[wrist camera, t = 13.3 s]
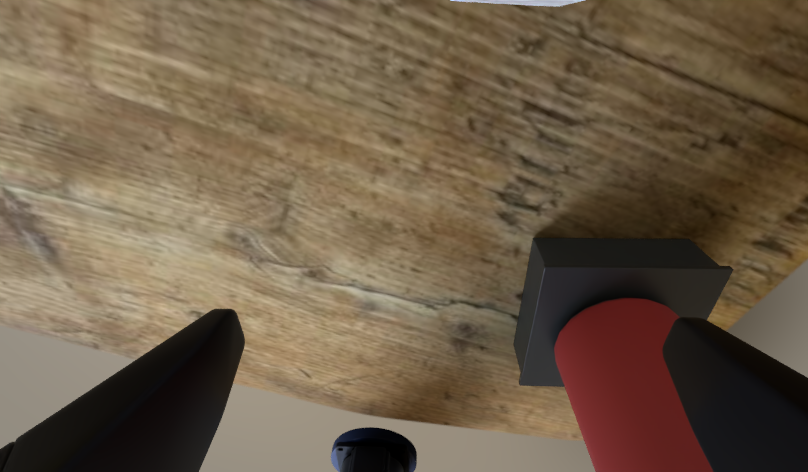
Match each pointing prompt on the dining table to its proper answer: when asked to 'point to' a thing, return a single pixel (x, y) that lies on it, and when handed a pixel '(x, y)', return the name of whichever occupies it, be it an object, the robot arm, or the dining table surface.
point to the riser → (605, 288)
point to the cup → (526, 2)
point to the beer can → (626, 388)
